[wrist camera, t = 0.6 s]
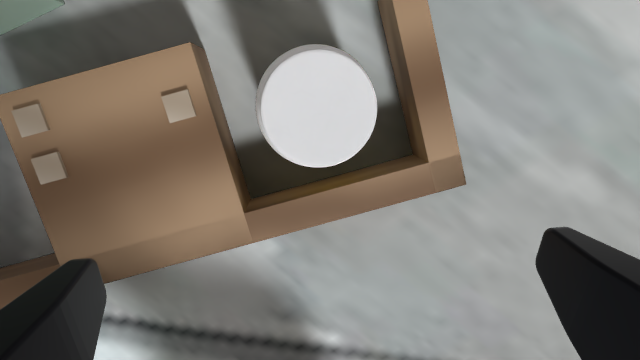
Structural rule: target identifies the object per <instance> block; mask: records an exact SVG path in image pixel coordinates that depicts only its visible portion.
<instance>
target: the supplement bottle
mask: <svg viewBox="0 0 640 360" xmlns="http://www.w3.org/2000/svg"><path fill="white" fill-rule="evenodd" d="M256 116H257V120H258V124H259V127H260V129H261V132H262V134H263V135H264V137H265V139H266V140H267V142H268V143H269V144H270V146H271V147H272V148H273V149H274V150H275V151H276V152H277V153H278V154H280V155H281V156H282V157H284V158H285V159H287V160H289V161H291V162H293V163H296V164H298V165H302V166H306V167H315V168H316V167H329V166H334V165H337V164H340V163H342V162H344V161H346V160H348V159H350V158H351V157H352V156H354V155H355V154H356V153H357V152H358V151H360V149H361V148H362V147H363V146H364V145H365V144H366V142H367V141H368V139H369V138H370V136H371V134H372V131H373V129H374V126H375V122H376V117H377V99H376V94H375V90H374V87H373V85H372V82H371V80H370V78H369V76H368V75H367V73H366V72H365V70H364V69H363V67H362V66H361V65H360V64H359V62H358V61H357V60H355V59H354V58H353V57H352V56H351V55H349V54H348V53H346V52H345V51H343V50H340V49H338V48H335V47H332V46H329V45H323V44H309V45H303V46H299V47H296V48H293V49H291V50H289V51H287V52H285V53H284V54H282V55H281V56H279V57H278V58H277V59H276V60H274V62H273V63H272V64H271V65H270V66H269V67H268V68H267V70H266V71H265V73H264V75H263V76H262V78H261V80H260V83H259V86H258V90H257V94H256Z"/></svg>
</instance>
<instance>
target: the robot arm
mask: <svg viewBox="0 0 640 360" xmlns="http://www.w3.org/2000/svg"><path fill="white" fill-rule="evenodd" d="M536 268H537V271H538V274H539V276H540V278H541V280H542V282H543V284H544V286H545V289H546V291H547V293H548V295H549V297H550V299H551V302H552V304H553V306H554V308H555V310H556V312H557V315H558V317H559V319H560V321H561V323H562V325H563V327H564V329H565V331H566V333H567V335H568V337H569V339H570V341H571V342H572V344H573V346H574V348H575V349H576V351H577V353H578V354H579V356H580V358H581V359H582V360H640V260H639V259H637V258H635V257H633V256H630V255H628V254H626V253H624V252H622V251H619V250H617V249H615V248H613V247H611V246H608V245H606V244H604V243H602V242H600V241H597V240H595V239H593V238H591V237H589V236H586V235H584V234H582V233H580V232H578V231H576V230H573V229H571V228H568V227H556V228H549V229H547V230H546V231H545V232H544V234H543V237H542V241H541V244H540V247H539V250H538V253H537V256H536ZM105 304H106V290H105V286H104V283H103V280H102V277H101V274H100V271H99V268H98V265H97V263H96V261H95V260H94V259H92V258H84V259H72V260H69V261H68V262H66V263H65V264H63V265H62V266H60V267H59V268H58V269H56V270H55V271H53V272H52V273H51V274H49V275H48V276H46V277H45V278H44V279H42V280H41V281H39V282H38V283H37V284H35V285H34V286H32V287H31V288H30V289H28V290H27V291H25V292H24V293H23V294H21V295H20V296H18V297H17V298H16V299H14V300H13V301H11V302H10V303H9V304H7V305H6V306H4V307H3V308H2V309H0V360H93V359H94V354H95V350H96V345H97V341H98V336H99V332H100V327H101V322H102V318H103V313H104V309H105Z"/></svg>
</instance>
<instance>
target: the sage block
mask: <svg viewBox="0 0 640 360" xmlns="http://www.w3.org/2000/svg"><path fill="white" fill-rule="evenodd" d="M64 4H65V3H64V1H63V0H0V35H2V34H4V33H6V32H8V31H10V30H13V29H15V28H17V27H19V26H21V25H23V24H25V23H27V22H29V21H31V20H33V19H35V18H37V17H39V16H41V15H43V14H45V13H47V12H50V11H52V10H54V9H56V8H58V7H60V6H62V5H64Z"/></svg>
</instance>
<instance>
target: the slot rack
mask: <svg viewBox="0 0 640 360" xmlns="http://www.w3.org/2000/svg"><path fill="white" fill-rule="evenodd" d="M378 6H379V10H380V15H381V19H382V23H383V28H384V32H385V36H386V41H387V45H388V49H389V53H390V58H391V62H392V66H393V71H394V75H395V79H396V84H397V88H398V92H399V97H400V101H401V105H402V110H403V114H404V118H405V122H406V127H407V131H408V135H409V140H410V144H411V148H412V153H413V155H410V156H406V157H403V158H399V159H395V160H392V161H388V162H384V163H381V164H377V165H373V166H370V167H366V168H363V169H359V170H355V171H352V172H348V173H344V174H341V175H337V176H333V177H330V178H326V179H323V180H319V181H315V182H312V183H308V184H304V185H301V186H297V187H293V188H290V189H286V190H283V191H279V192H275V193H272V194H268V195H264V196H261V197H257V198H253V199H251V198H250V195H249V192H248V188H247V185H246V182H245V179H244V176H243V172H242V169H241V166H240V163H239V159H238V156H237V153H236V150H235V146H234V143H233V140H232V137H231V134H230V130H229V127H228V124H227V121H226V117H225V114H224V111H223V108H222V104H221V101H220V98H219V95H218V91H217V88H216V85H215V82H214V79H213V75H212V72H211V69H210V66H209V62H208V59H207V56H206V53H205V50H204V49H202V48H200V47H198V46H196V45H195V44H193V43H191V42H189V43H186V44H182V45H178V46H175V47H171V48H167V49H164V50H160V51H157V52H153V53H149V54H146V55H142V56H139V57H135V58H131V59H128V60H124V61H120V62H117V63H113V64H110V65H106V66H102V67H99V68H95V69H92V70H88V71H84V72H81V73H77V74H74V75H70V76H66V77H63V78H59V79H55V80H52V81H48V82H45V83H41V84H37V85H34V86H30V87H27V88H23V89H19V90H16V91H12V92H8V93H5V94H1V95H0V119H1V122H2V124H3V126H4V129H5V131H6V134H7V136H8V139H9V141H10V144H11V146H12V149H13V151H14V153H15V156H16V158H17V161H18V163H19V166H20V168H21V171H22V173H23V176H24V178H25V181H26V183H27V185H28V188H29V190H30V193H31V195H32V198H33V200H34V203H35V205H36V208H37V210H38V212H39V215H40V217H41V220H42V222H43V225H44V227H45V230H46V232H47V235H48V237H49V239H50V242H51V244H52V247H53V249H54V252H55V253H53V254H50V255H46V256H42V257H39V258H35V259H32V260H28V261H24V262H21V263H17V264H13V265H10V266H6V267H2V268H0V309H2V308H3V307H4V306H6V305H7V304H9V303H10V302H11V301H13V300H14V299H16V298H17V297H18V296H20V295H21V294H23V293H24V292H25V291H27V290H28V289H30V288H31V287H32V286H34V285H35V284H37V283H38V282H39V281H41V280H42V279H44V278H45V277H46V276H48V275H49V274H51V273H52V272H53V271H55V270H56V269H58V268H59V267H60V266H62V265H63V264H65V263H66V262H68V261H69V260H72V259H84V258H92V259H94V260H95V261H96V263H97V265H98V268H99V271H100V274H101V277H102V280H103V283H104V284H105V283H109V282H113V281H116V280H120V279H124V278H127V277H131V276H135V275H138V274H142V273H146V272H149V271H153V270H156V269H160V268H164V267H167V266H171V265H175V264H178V263H182V262H186V261H189V260H193V259H197V258H200V257H204V256H207V255H211V254H215V253H218V252H222V251H226V250H229V249H233V248H237V247H240V246H244V245H248V244H251V243H255V242H258V241H262V240H266V239H269V238H273V237H277V236H280V235H284V234H288V233H291V232H295V231H299V230H302V229H306V228H309V227H313V226H317V225H320V224H324V223H328V222H331V221H335V220H339V219H342V218H346V217H350V216H353V215H357V214H360V213H364V212H368V211H371V210H375V209H379V208H382V207H386V206H390V205H393V204H397V203H401V202H404V201H408V200H412V199H415V198H419V197H422V196H426V195H430V194H433V193H437V192H441V191H444V190H448V189H452V188H455V187H459V186H463V185H466V181H465V176H464V171H463V166H462V162H461V157H460V152H459V147H458V143H457V138H456V133H455V128H454V124H453V119H452V114H451V109H450V105H449V100H448V95H447V91H446V86H445V81H444V76H443V72H442V67H441V62H440V57H439V53H438V48H437V43H436V38H435V34H434V29H433V24H432V19H431V15H430V10H429V5H428V1H427V0H379V1H378Z"/></svg>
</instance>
